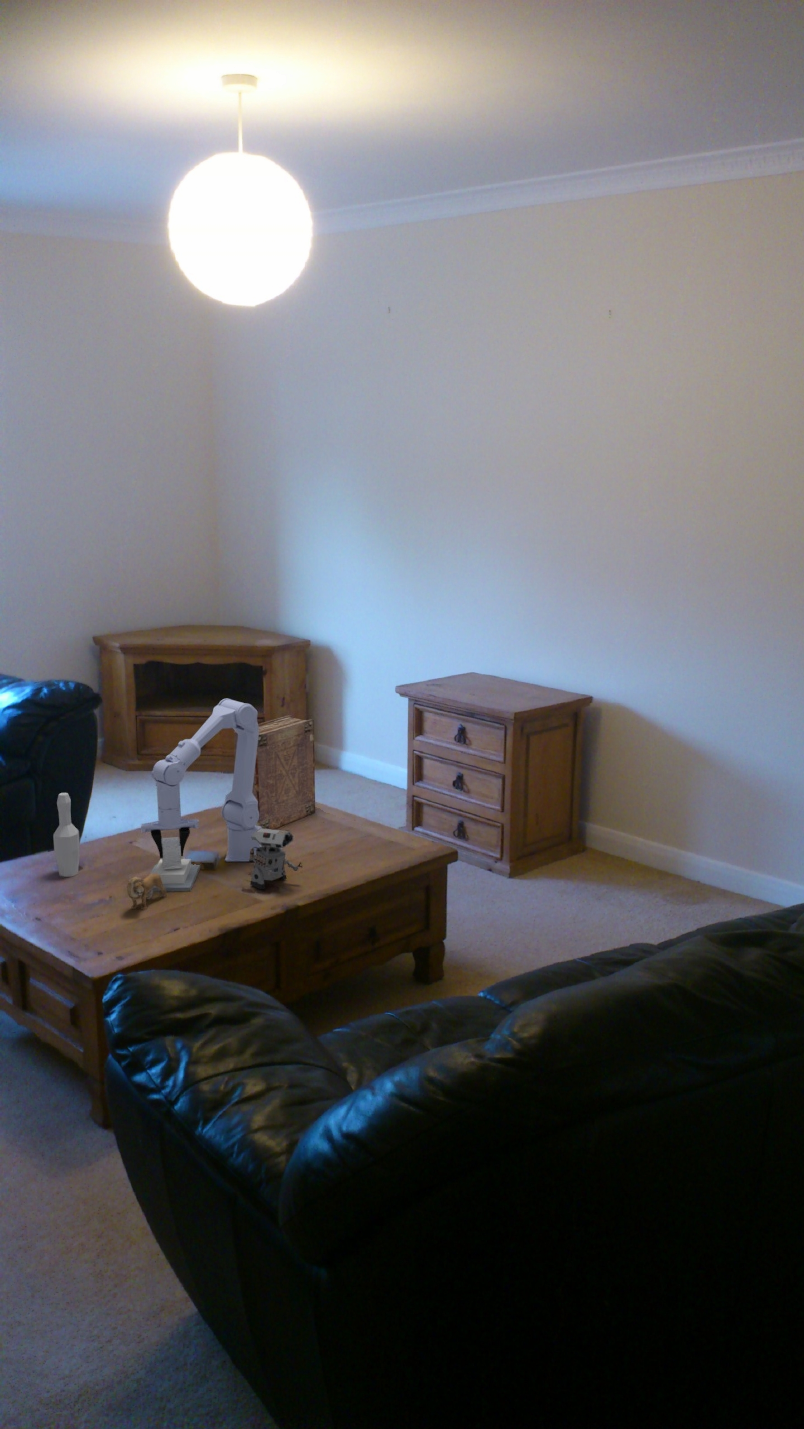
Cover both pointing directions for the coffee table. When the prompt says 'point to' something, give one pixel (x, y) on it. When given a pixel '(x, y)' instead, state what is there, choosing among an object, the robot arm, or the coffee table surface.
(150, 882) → the lion figurine
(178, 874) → the display stand
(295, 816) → the book
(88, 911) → the coffee table surface
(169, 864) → the block
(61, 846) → the faceted bottle
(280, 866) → the figurine
